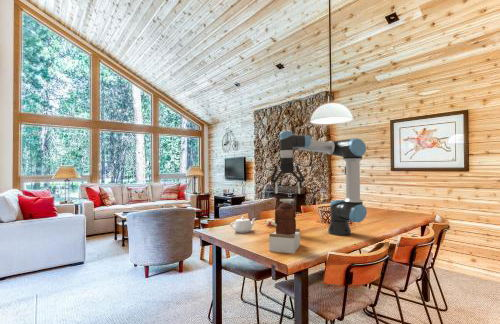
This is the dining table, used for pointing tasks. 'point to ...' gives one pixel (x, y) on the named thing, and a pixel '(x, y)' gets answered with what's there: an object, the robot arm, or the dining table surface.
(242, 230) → the teapot
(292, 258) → the dining table surface
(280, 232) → the wooden figurine
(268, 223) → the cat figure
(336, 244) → the dining table surface
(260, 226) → the dining table surface
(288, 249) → the display plinth
